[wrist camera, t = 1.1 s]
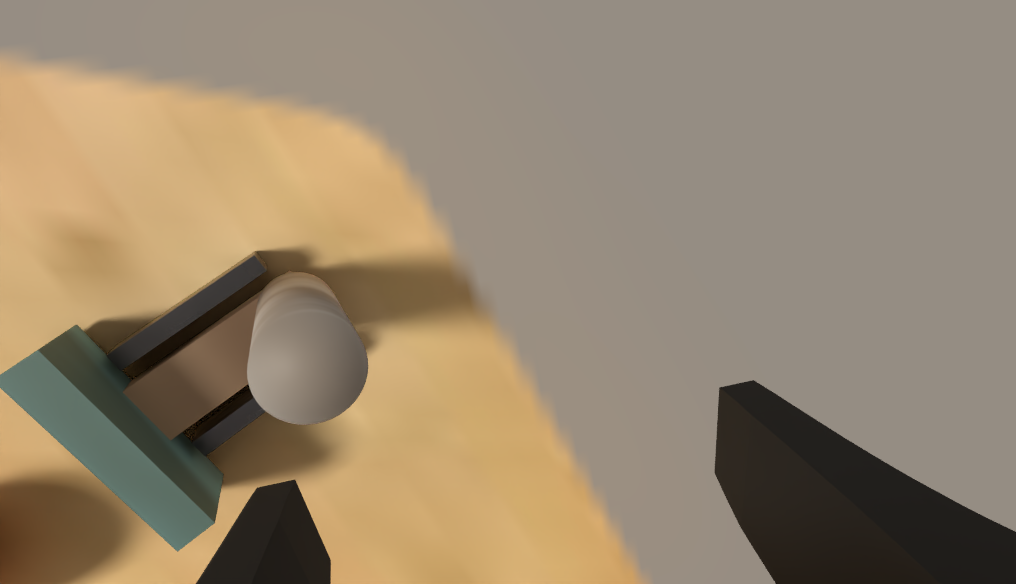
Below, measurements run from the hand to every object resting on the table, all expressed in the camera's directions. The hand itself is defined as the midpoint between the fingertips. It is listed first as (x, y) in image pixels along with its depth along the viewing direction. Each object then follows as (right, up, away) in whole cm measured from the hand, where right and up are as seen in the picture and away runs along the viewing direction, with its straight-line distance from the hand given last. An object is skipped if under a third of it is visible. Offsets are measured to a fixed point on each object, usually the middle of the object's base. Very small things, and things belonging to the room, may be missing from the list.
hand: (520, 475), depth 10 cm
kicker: (-10, +1, +10) cm, 14 cm away
